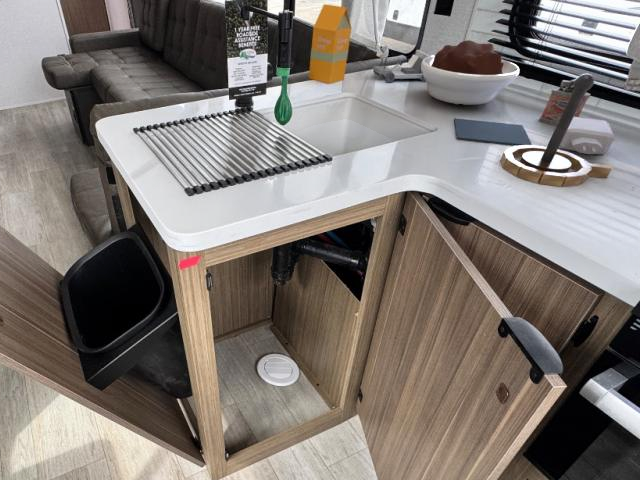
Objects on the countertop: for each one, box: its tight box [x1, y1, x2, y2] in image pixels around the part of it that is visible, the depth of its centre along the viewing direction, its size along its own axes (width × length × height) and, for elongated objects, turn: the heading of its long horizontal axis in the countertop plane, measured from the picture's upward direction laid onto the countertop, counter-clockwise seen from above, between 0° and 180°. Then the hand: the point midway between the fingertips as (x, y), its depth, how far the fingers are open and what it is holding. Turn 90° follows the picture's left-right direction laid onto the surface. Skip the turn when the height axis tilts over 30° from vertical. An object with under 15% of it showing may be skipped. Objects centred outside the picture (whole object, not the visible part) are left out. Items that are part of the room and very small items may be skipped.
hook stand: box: [518, 73, 595, 173], centre depth 84 cm, size 9×9×18 cm
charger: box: [559, 116, 616, 155], centre depth 96 cm, size 5×9×15 cm
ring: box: [499, 144, 613, 187], centre depth 89 cm, size 19×16×2 cm
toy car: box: [372, 44, 431, 84], centre depth 140 cm, size 18×10×12 cm
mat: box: [453, 117, 533, 147], centre depth 105 cm, size 16×14×1 cm
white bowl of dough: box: [421, 39, 520, 106], centre depth 120 cm, size 25×25×15 cm
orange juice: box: [308, 4, 352, 85], centre depth 135 cm, size 8×9×20 cm
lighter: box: [538, 78, 591, 126], centre depth 108 cm, size 8×3×10 cm, turn 55°
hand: (637, 96), depth 78 cm, fingers open, 8 cm apart
